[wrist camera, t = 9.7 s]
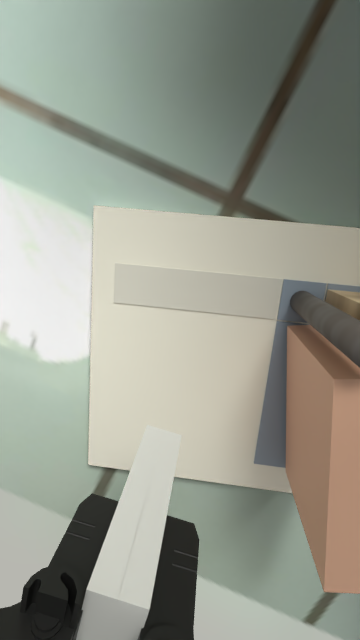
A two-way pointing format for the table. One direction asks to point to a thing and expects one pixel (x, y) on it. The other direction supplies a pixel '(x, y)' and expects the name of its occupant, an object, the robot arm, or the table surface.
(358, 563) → the hinged fence panel
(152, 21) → the table surface
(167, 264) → the card
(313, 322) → the fixed fence panel
